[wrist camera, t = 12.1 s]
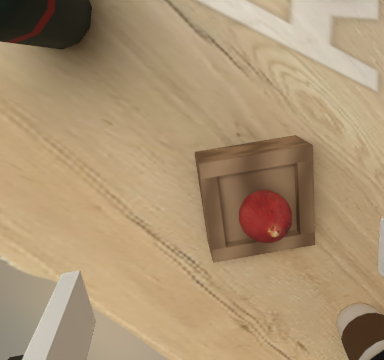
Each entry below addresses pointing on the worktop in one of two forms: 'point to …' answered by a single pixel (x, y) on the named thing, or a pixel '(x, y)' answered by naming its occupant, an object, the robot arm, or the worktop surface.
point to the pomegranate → (265, 216)
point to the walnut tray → (251, 182)
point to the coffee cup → (362, 332)
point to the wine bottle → (44, 22)
